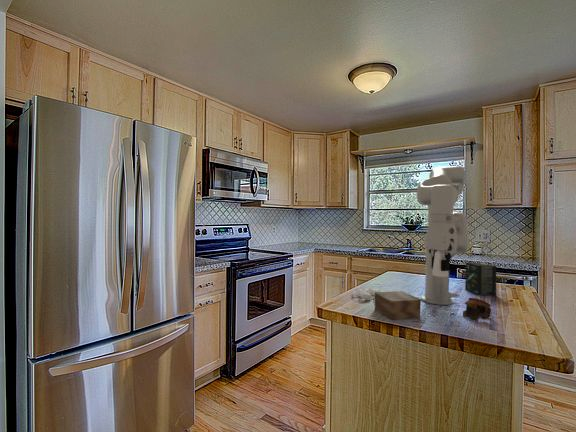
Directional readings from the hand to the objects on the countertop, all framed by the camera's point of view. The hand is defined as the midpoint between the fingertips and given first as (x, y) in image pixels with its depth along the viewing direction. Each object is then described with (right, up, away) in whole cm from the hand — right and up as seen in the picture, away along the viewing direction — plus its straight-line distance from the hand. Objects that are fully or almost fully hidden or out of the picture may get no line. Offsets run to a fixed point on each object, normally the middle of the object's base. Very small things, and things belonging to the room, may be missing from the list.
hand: (440, 269), depth 111 cm
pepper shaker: (0, -2, 0) cm, 2 cm away
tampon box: (+42, -20, +44) cm, 64 cm away
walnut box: (-13, -19, +8) cm, 24 cm away
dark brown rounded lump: (+17, -20, +5) cm, 26 cm away
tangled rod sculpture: (-18, -19, +32) cm, 41 cm away
